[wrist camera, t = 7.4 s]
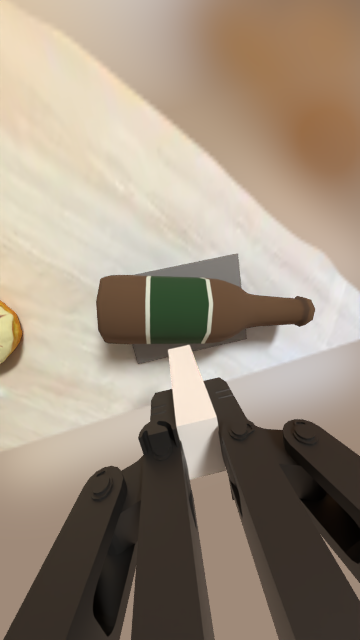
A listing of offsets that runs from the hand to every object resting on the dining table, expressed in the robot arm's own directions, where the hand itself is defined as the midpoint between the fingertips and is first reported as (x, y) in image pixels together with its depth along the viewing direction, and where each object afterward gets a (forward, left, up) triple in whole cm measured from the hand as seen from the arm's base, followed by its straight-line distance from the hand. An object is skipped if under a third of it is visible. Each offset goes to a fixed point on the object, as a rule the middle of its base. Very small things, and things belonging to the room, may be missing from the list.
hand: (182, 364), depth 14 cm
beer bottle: (-7, +3, -10) cm, 12 cm away
